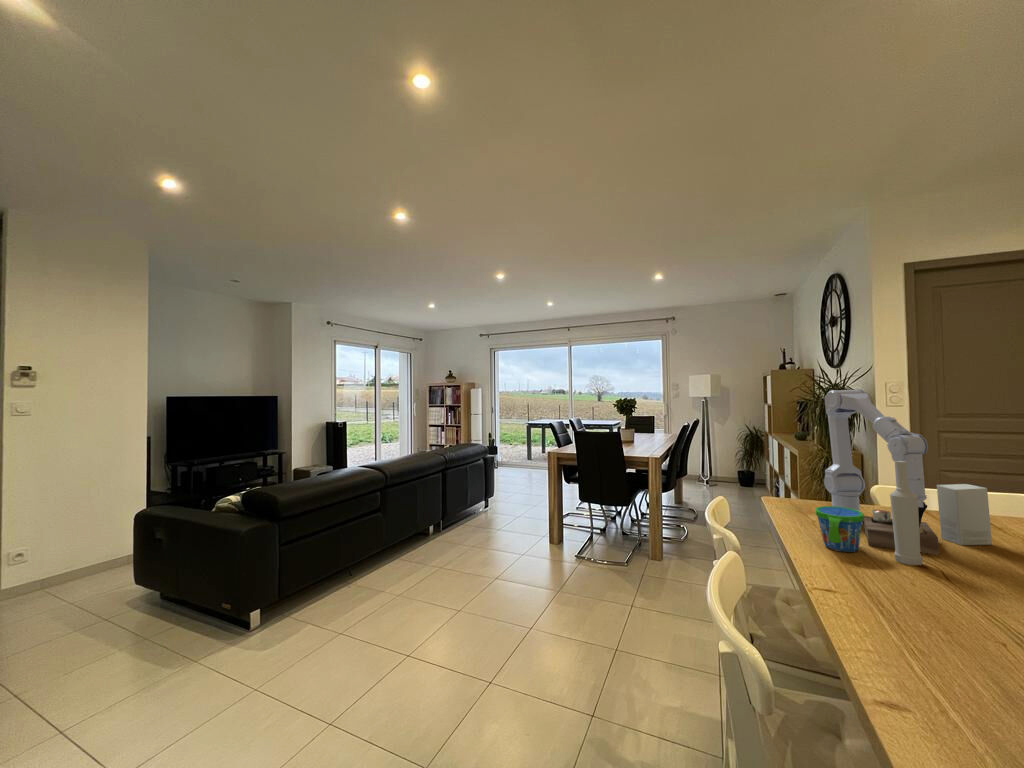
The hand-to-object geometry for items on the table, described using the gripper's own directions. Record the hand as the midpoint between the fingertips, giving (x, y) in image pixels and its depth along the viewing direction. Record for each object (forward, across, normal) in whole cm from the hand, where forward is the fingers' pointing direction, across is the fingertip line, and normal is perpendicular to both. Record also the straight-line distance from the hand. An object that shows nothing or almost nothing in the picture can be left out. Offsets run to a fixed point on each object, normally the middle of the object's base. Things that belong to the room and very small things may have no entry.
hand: (913, 528), depth 115 cm
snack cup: (+5, +10, -17) cm, 21 cm away
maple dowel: (+4, 0, 0) cm, 4 cm away
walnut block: (+5, -3, -3) cm, 7 cm away
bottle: (+5, +15, -4) cm, 16 cm away
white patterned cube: (+2, -6, -6) cm, 9 cm away
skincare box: (+5, -11, +13) cm, 18 cm away
